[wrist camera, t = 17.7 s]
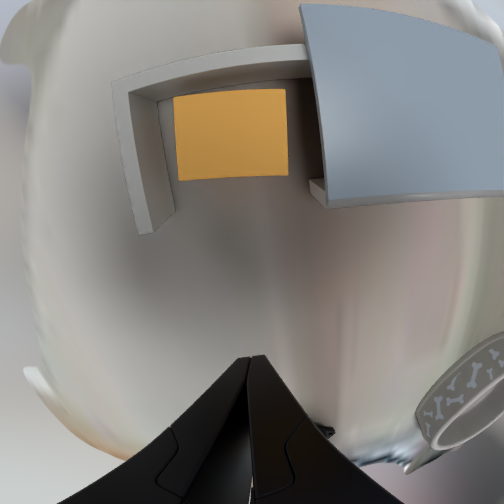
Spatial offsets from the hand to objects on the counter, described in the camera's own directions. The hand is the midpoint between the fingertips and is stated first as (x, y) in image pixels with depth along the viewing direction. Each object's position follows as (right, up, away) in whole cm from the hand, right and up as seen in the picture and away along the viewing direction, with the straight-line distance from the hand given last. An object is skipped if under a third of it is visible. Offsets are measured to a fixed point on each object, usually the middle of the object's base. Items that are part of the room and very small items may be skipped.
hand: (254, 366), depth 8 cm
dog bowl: (+28, -14, +17) cm, 35 cm away
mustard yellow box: (-1, +10, +7) cm, 12 cm away
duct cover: (+8, +10, +2) cm, 14 cm away
